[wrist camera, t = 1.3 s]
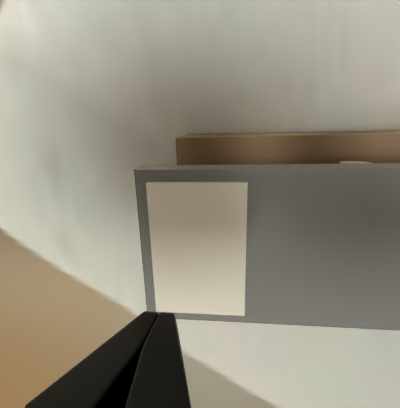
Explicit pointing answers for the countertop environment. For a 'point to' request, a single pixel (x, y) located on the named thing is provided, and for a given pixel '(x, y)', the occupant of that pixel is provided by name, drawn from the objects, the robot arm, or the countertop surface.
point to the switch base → (289, 148)
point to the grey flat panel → (273, 242)
